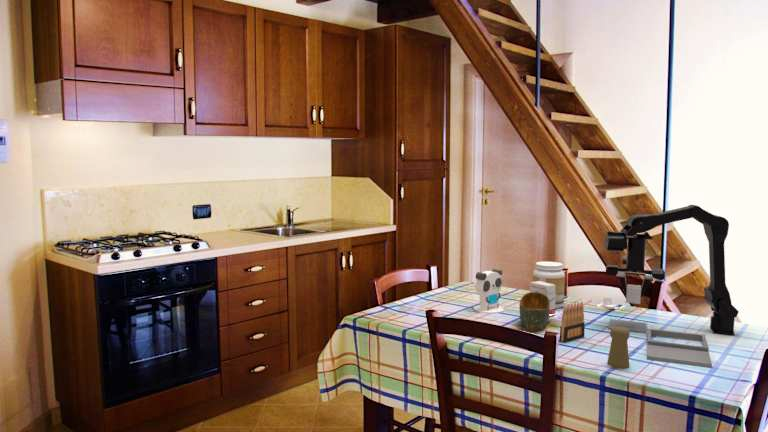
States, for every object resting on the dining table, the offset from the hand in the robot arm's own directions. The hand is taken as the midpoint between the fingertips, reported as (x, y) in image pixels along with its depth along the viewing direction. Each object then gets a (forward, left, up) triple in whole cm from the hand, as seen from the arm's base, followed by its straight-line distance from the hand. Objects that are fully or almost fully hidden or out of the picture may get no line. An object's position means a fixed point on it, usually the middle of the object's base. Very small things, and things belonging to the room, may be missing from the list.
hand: (633, 296), depth 216 cm
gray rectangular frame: (-14, +20, -11) cm, 26 cm away
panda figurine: (+51, -4, -11) cm, 53 cm away
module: (0, 0, -2) cm, 2 cm away
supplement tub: (+31, -20, -11) cm, 39 cm away
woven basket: (+31, +10, -11) cm, 35 cm away
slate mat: (+1, -2, -11) cm, 11 cm away
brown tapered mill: (+2, +42, -11) cm, 44 cm away
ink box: (+31, -6, -11) cm, 34 cm away
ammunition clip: (+17, +22, -11) cm, 30 cm away
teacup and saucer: (+12, -26, -12) cm, 31 cm away
